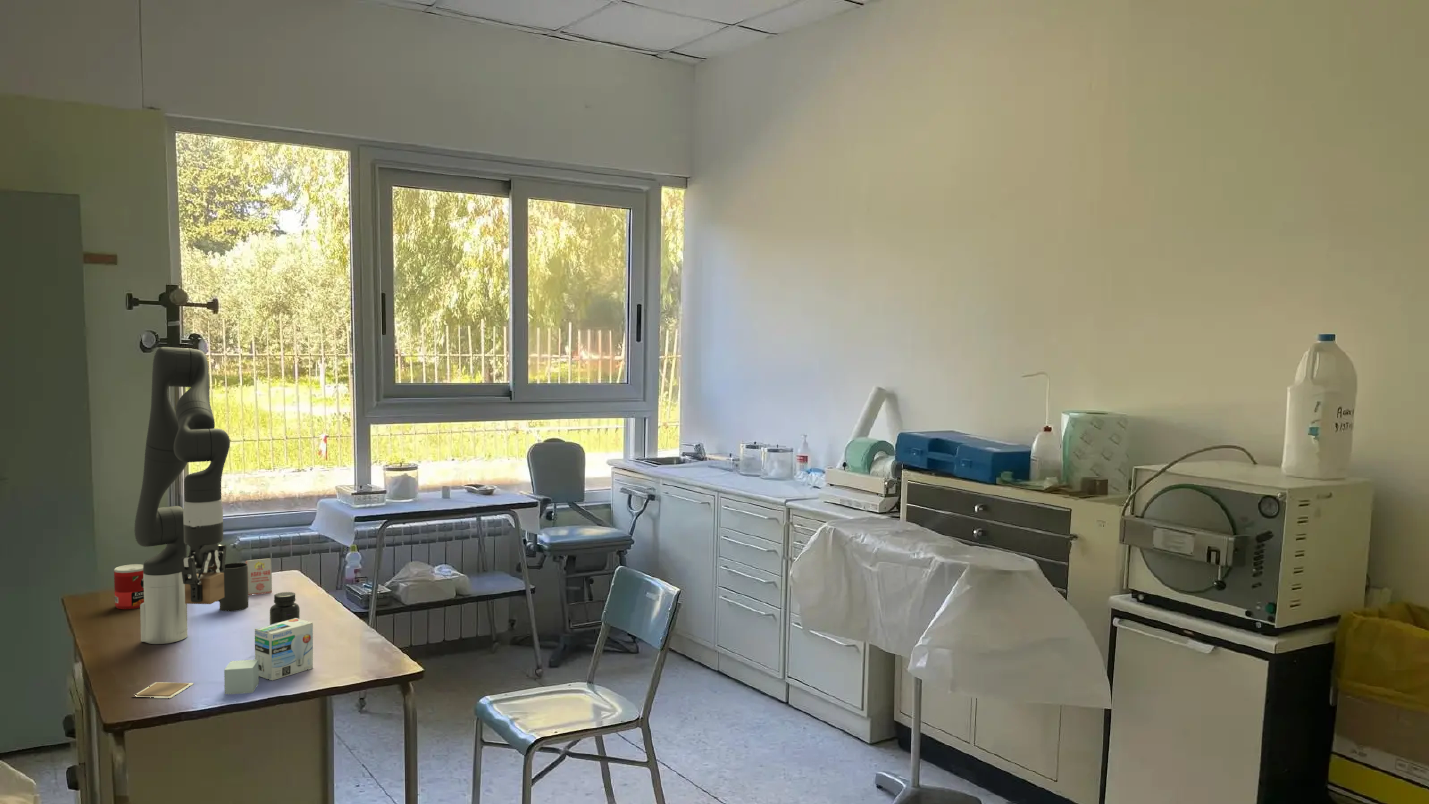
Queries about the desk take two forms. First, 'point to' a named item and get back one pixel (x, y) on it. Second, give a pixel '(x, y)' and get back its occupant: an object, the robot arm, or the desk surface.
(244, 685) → the pale green cube
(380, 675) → the desk surface
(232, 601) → the mug
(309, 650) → the light bulb box
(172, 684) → the swatch
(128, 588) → the canned food
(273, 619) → the supplement bottle
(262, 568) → the beige rectangular box
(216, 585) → the walnut block
